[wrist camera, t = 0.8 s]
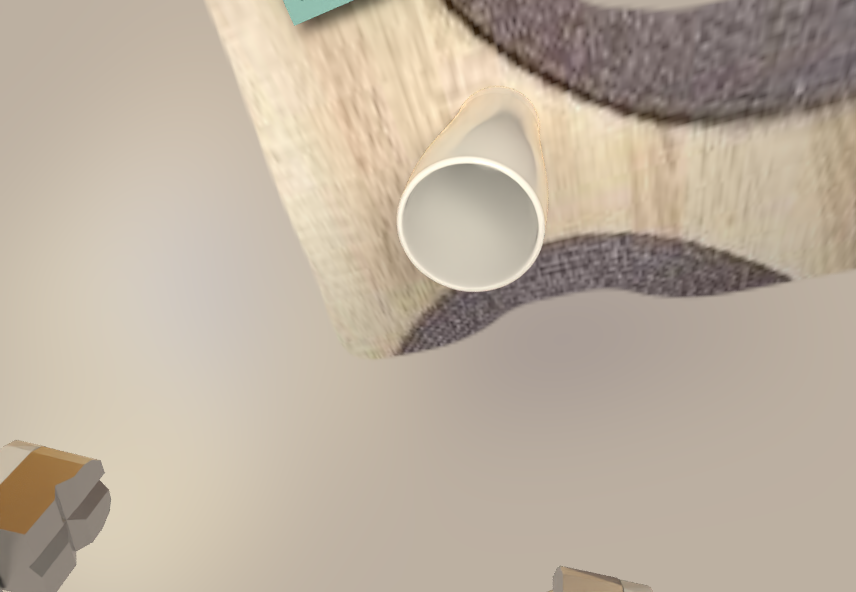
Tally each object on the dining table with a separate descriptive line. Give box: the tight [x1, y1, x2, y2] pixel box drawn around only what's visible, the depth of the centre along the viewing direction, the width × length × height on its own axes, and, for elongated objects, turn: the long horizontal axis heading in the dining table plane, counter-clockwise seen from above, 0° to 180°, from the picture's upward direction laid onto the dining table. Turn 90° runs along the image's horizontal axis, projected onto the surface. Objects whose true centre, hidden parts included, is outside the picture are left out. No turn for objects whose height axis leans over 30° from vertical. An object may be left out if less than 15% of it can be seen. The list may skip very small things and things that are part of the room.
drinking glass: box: [397, 86, 548, 292], centre depth 33 cm, size 7×7×15 cm
